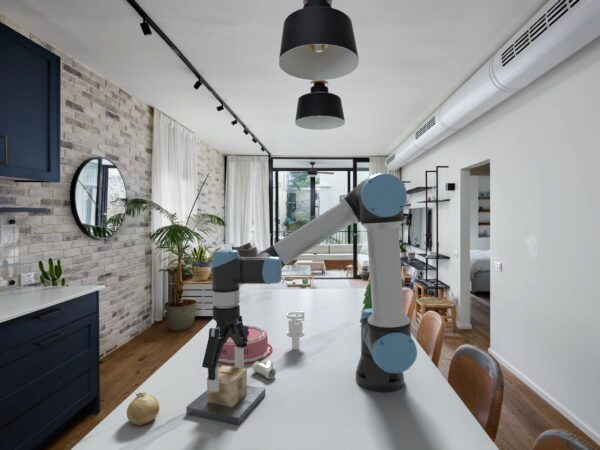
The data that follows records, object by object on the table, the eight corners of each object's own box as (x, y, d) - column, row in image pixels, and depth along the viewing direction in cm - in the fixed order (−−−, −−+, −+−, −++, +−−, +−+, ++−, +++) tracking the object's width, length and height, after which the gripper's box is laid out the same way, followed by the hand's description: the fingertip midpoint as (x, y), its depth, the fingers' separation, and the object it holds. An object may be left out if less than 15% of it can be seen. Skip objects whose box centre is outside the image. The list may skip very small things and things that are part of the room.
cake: (196, 363, 130) (195, 334, 129) (223, 339, 154) (223, 314, 154) (262, 368, 125) (261, 338, 125) (279, 342, 149) (279, 317, 149)
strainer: (302, 352, 138) (302, 314, 137) (285, 351, 139) (284, 313, 139) (306, 345, 145) (305, 309, 144) (289, 344, 146) (288, 308, 146)
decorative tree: (387, 340, 150) (387, 269, 148) (371, 345, 144) (371, 272, 143) (370, 334, 158) (370, 266, 156) (354, 338, 152) (354, 269, 151)
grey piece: (265, 394, 106) (265, 369, 106) (238, 425, 91) (238, 395, 91) (218, 386, 111) (218, 362, 111) (186, 414, 96) (185, 386, 96)
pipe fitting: (267, 368, 125) (252, 373, 120) (268, 357, 125) (252, 362, 120) (282, 376, 119) (267, 381, 115) (283, 364, 120) (268, 369, 115)
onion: (164, 411, 98) (163, 386, 97) (153, 429, 90) (152, 401, 89) (134, 412, 97) (133, 387, 97) (120, 430, 89) (120, 402, 89)
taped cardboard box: (207, 402, 98) (207, 376, 98) (223, 388, 106) (222, 364, 106) (232, 407, 96) (232, 380, 95) (247, 392, 103) (246, 368, 103)
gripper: (236, 294, 113) (237, 359, 114) (186, 315, 89) (188, 398, 90) (258, 295, 110) (258, 363, 111) (212, 318, 87) (214, 403, 88)
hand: (227, 379), depth 101 cm, fingers open, 13 cm apart
